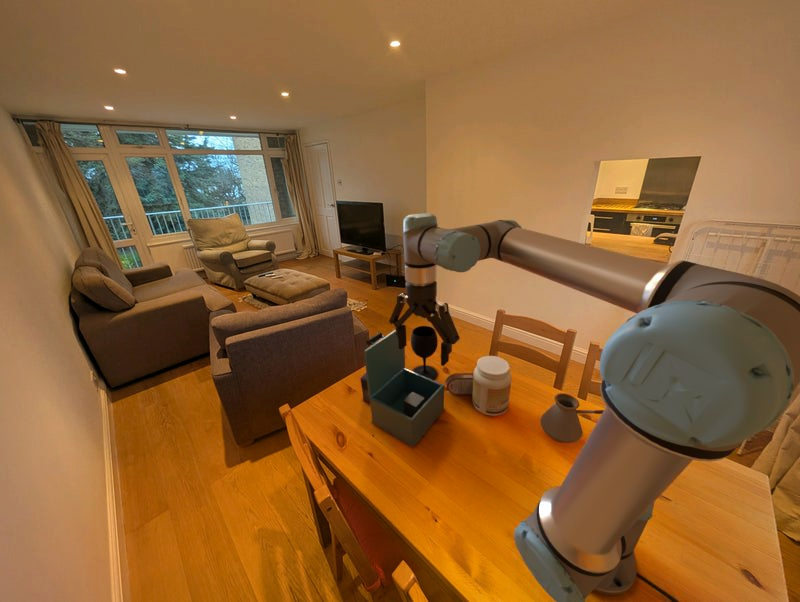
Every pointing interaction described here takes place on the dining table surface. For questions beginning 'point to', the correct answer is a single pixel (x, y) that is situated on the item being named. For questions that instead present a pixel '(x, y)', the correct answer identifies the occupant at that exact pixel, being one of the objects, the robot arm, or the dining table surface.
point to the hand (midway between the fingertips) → (422, 354)
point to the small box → (365, 388)
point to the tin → (460, 383)
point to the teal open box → (391, 406)
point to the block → (413, 404)
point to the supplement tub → (491, 385)
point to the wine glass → (424, 349)
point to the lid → (383, 360)
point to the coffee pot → (564, 419)
